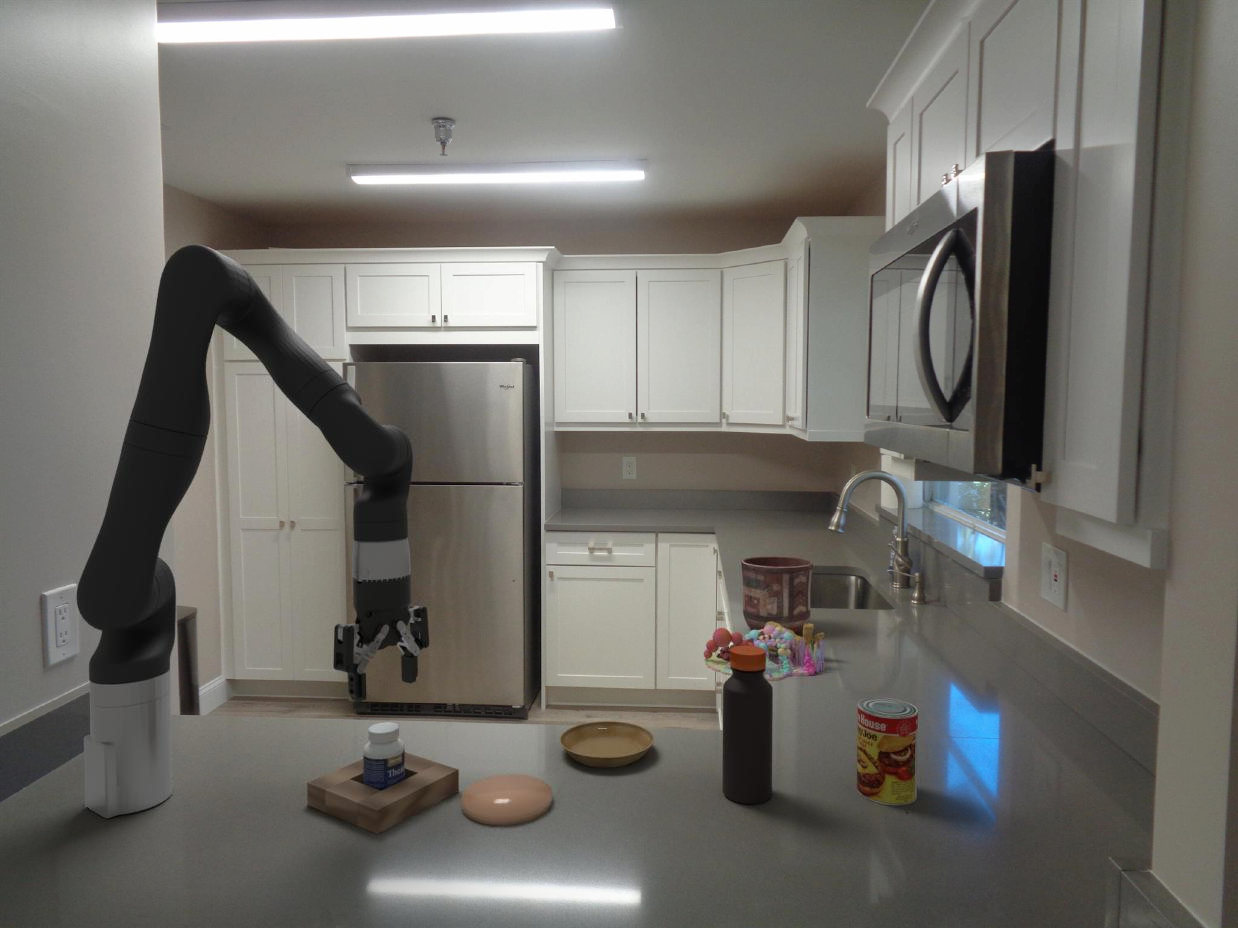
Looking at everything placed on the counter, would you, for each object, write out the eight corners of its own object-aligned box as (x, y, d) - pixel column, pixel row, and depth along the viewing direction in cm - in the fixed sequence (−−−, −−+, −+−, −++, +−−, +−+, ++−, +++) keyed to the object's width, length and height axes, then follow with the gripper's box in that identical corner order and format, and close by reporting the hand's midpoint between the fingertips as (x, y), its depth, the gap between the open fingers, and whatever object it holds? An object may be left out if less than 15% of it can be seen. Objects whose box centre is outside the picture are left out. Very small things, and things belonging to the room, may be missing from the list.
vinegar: (775, 786, 108) (776, 645, 108) (768, 808, 102) (769, 659, 101) (727, 779, 110) (728, 641, 110) (717, 800, 104) (718, 654, 103)
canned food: (848, 780, 110) (848, 697, 110) (901, 778, 111) (902, 696, 110) (870, 806, 102) (871, 717, 102) (927, 804, 103) (928, 716, 103)
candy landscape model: (744, 644, 184) (744, 606, 184) (840, 661, 170) (840, 619, 170) (690, 669, 164) (690, 626, 164) (795, 691, 150) (795, 644, 150)
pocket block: (377, 834, 95) (377, 810, 95) (307, 804, 103) (307, 782, 103) (458, 790, 107) (458, 769, 107) (390, 767, 115) (390, 747, 114)
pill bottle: (393, 808, 102) (392, 736, 101) (356, 805, 103) (355, 733, 102) (412, 790, 107) (411, 721, 107) (376, 787, 108) (375, 718, 108)
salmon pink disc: (511, 834, 95) (511, 824, 95) (442, 808, 102) (442, 799, 102) (569, 796, 105) (569, 787, 105) (503, 775, 112) (503, 767, 112)
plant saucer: (542, 765, 116) (542, 748, 116) (582, 730, 130) (582, 715, 130) (634, 781, 110) (634, 763, 110) (666, 743, 124) (666, 727, 124)
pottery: (797, 644, 183) (798, 569, 182) (730, 634, 192) (730, 562, 192) (821, 629, 197) (822, 559, 197) (757, 620, 207) (758, 553, 206)
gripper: (403, 562, 112) (406, 672, 113) (318, 578, 100) (321, 701, 101) (440, 566, 108) (442, 681, 108) (356, 583, 96) (359, 712, 97)
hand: (384, 690), depth 105 cm, fingers open, 8 cm apart
